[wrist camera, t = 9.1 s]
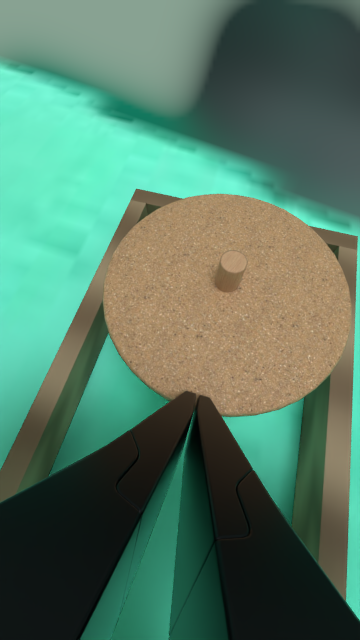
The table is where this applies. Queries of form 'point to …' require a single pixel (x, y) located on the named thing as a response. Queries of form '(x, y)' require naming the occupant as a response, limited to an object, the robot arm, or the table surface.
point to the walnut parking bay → (317, 423)
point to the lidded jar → (227, 303)
